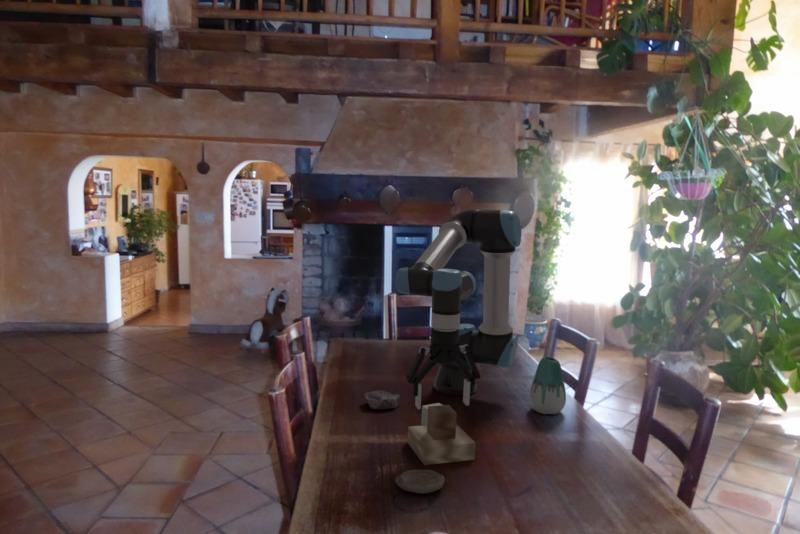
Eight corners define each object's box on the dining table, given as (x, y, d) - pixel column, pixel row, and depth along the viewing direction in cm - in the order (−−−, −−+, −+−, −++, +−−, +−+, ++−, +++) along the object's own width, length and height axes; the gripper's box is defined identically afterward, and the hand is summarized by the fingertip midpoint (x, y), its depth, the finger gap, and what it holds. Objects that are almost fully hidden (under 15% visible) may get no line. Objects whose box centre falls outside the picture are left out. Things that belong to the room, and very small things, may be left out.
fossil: (398, 479, 142) (398, 467, 142) (445, 481, 141) (445, 469, 140) (392, 497, 132) (392, 484, 131) (443, 499, 130) (443, 487, 130)
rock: (403, 409, 186) (403, 395, 185) (368, 412, 183) (368, 398, 183) (396, 401, 194) (397, 387, 193) (363, 403, 191) (363, 389, 190)
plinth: (454, 439, 165) (454, 422, 165) (474, 461, 152) (475, 442, 151) (407, 444, 161) (408, 426, 160) (424, 466, 148) (424, 448, 147)
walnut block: (447, 429, 159) (449, 405, 159) (455, 438, 154) (456, 413, 153) (427, 431, 158) (428, 406, 157) (433, 440, 152) (434, 414, 151)
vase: (567, 409, 192) (571, 356, 189) (561, 420, 181) (565, 364, 179) (532, 402, 196) (535, 351, 194) (524, 413, 186) (528, 359, 184)
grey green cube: (438, 421, 177) (438, 402, 176) (449, 428, 172) (450, 409, 171) (421, 425, 174) (422, 405, 173) (432, 432, 169) (433, 412, 168)
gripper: (483, 323, 159) (480, 397, 162) (395, 326, 153) (393, 403, 156) (495, 329, 152) (491, 407, 155) (403, 333, 146) (400, 414, 149)
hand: (442, 405), depth 155 cm, fingers open, 13 cm apart
